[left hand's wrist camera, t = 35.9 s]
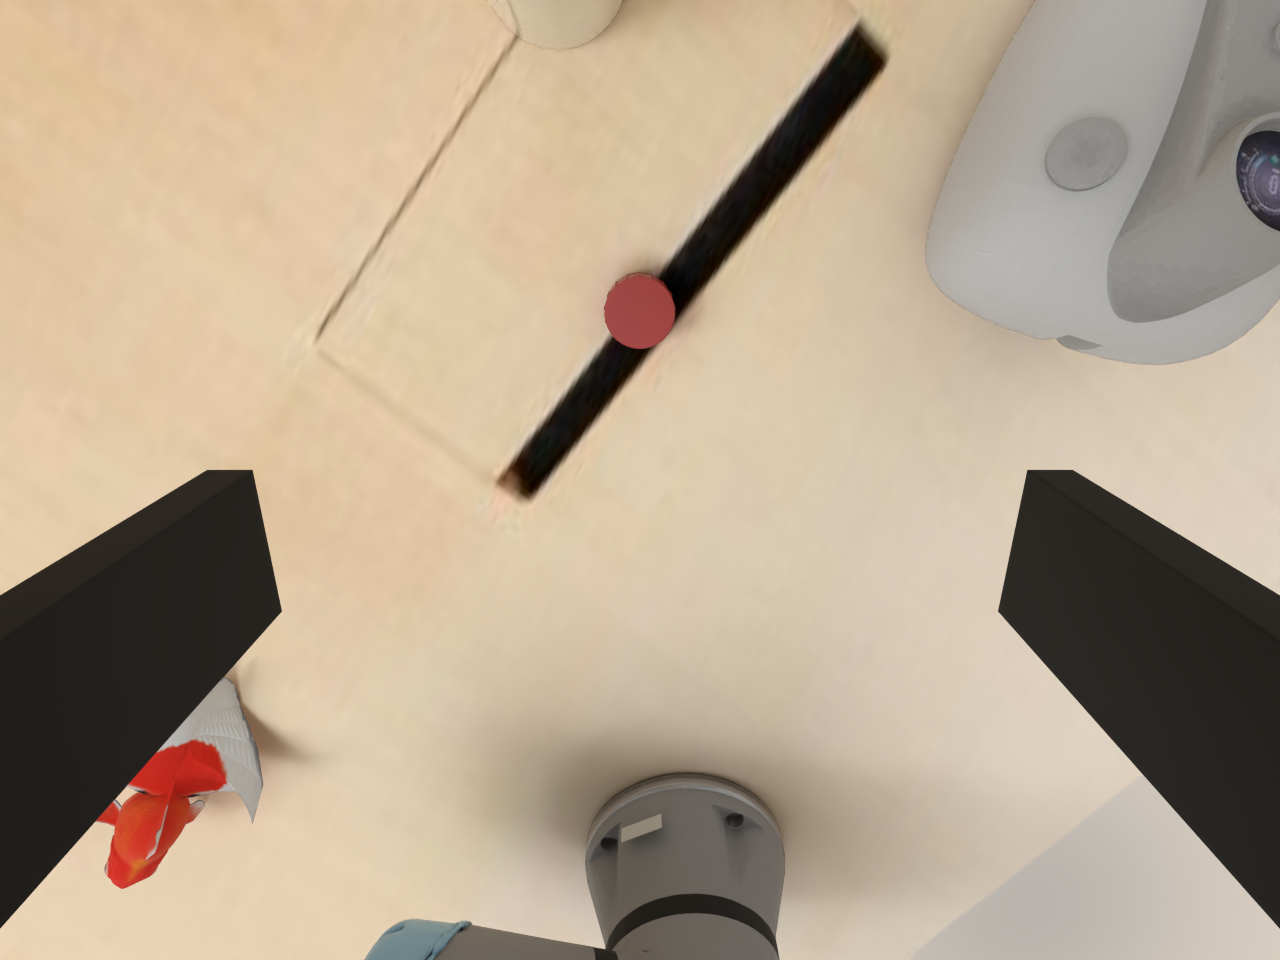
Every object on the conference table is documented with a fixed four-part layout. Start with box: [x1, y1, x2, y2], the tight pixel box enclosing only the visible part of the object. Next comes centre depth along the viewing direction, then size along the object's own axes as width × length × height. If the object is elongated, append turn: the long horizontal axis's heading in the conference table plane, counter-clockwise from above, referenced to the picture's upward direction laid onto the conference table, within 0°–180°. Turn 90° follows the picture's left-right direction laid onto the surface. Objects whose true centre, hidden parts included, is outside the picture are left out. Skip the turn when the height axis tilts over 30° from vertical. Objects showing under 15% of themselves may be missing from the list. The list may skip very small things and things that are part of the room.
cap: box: [604, 272, 676, 349], centre depth 40 cm, size 4×4×2 cm
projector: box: [925, 0, 1280, 365], centre depth 31 cm, size 22×23×15 cm
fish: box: [96, 678, 263, 889], centre depth 48 cm, size 11×16×10 cm
